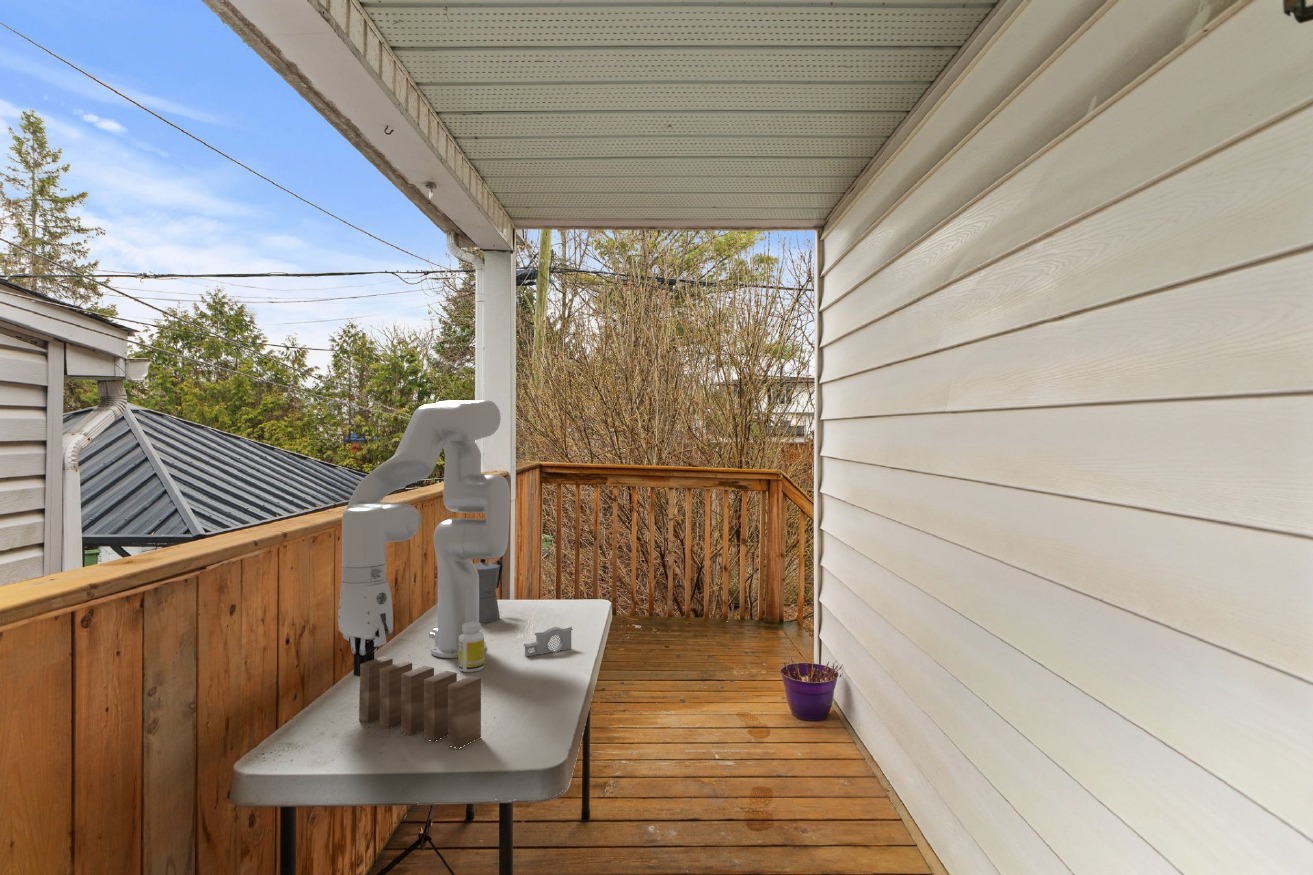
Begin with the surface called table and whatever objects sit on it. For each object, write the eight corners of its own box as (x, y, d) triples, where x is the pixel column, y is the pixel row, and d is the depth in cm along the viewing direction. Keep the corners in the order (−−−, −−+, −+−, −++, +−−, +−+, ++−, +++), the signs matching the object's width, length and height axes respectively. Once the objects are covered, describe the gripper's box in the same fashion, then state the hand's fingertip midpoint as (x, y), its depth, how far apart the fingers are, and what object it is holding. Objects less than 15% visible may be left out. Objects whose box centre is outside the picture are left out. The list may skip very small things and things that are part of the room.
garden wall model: (525, 658, 150) (525, 632, 150) (523, 656, 152) (523, 630, 152) (573, 649, 157) (573, 624, 157) (569, 647, 158) (569, 623, 158)
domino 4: (423, 739, 108) (424, 679, 109) (446, 728, 113) (446, 670, 113) (434, 742, 107) (434, 682, 107) (456, 731, 112) (456, 672, 112)
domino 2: (379, 726, 114) (379, 669, 114) (403, 716, 118) (403, 660, 118) (388, 729, 113) (389, 671, 113) (412, 718, 117) (412, 662, 117)
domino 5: (448, 746, 106) (448, 685, 106) (470, 734, 110) (470, 675, 110) (458, 750, 105) (458, 687, 105) (481, 737, 109) (481, 678, 109)
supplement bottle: (488, 666, 145) (488, 622, 145) (474, 674, 140) (474, 628, 140) (468, 663, 147) (468, 620, 147) (453, 671, 141) (453, 626, 142)
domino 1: (358, 719, 116) (360, 664, 116) (382, 709, 121) (383, 656, 121) (367, 722, 115) (369, 666, 115) (391, 712, 120) (392, 658, 120)
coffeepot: (482, 627, 176) (482, 560, 176) (454, 623, 180) (454, 558, 180) (515, 613, 190) (514, 552, 191) (488, 610, 194) (488, 550, 194)
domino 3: (401, 732, 111) (401, 674, 111) (424, 722, 115) (424, 665, 116) (410, 735, 110) (411, 676, 110) (434, 724, 114) (434, 667, 114)
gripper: (408, 574, 119) (408, 674, 119) (356, 567, 127) (355, 661, 126) (373, 582, 113) (373, 688, 113) (320, 574, 120) (319, 673, 120)
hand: (364, 674), depth 119 cm, fingers closed
